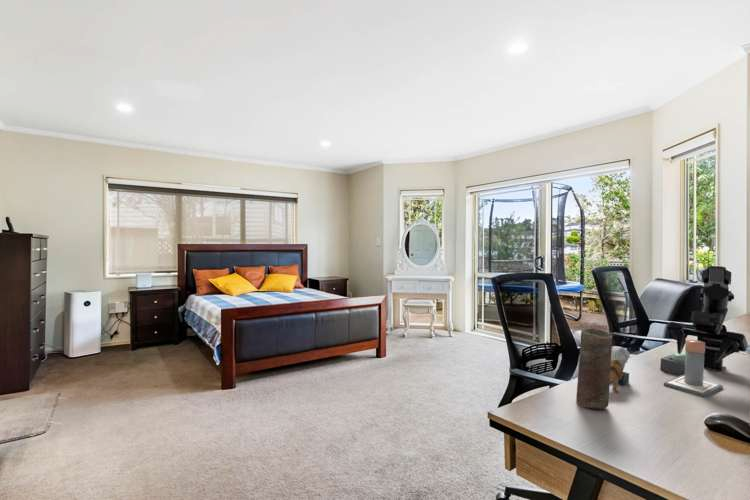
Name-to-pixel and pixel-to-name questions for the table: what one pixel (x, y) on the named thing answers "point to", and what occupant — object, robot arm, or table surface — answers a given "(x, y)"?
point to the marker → (694, 362)
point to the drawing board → (697, 390)
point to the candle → (594, 368)
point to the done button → (678, 357)
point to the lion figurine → (616, 373)
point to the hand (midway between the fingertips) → (696, 357)
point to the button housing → (672, 366)
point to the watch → (623, 357)
